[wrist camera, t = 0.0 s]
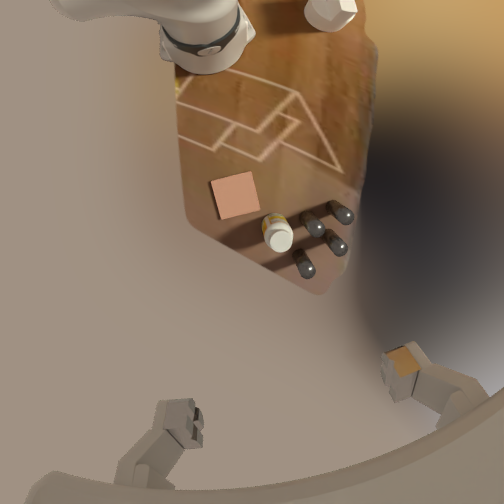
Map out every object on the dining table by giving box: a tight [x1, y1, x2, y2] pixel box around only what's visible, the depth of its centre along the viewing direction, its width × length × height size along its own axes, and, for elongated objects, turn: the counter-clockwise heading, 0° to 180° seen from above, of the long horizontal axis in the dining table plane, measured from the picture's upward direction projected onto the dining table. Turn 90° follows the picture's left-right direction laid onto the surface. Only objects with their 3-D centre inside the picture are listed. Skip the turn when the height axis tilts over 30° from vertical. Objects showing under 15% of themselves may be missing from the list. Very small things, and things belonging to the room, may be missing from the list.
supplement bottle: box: [262, 213, 293, 252], centre depth 54 cm, size 5×5×10 cm
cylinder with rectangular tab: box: [304, 0, 358, 32], centre depth 35 cm, size 9×9×12 cm
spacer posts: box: [293, 200, 354, 279], centre depth 56 cm, size 12×12×8 cm
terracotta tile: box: [211, 171, 260, 220], centre depth 55 cm, size 8×8×1 cm
